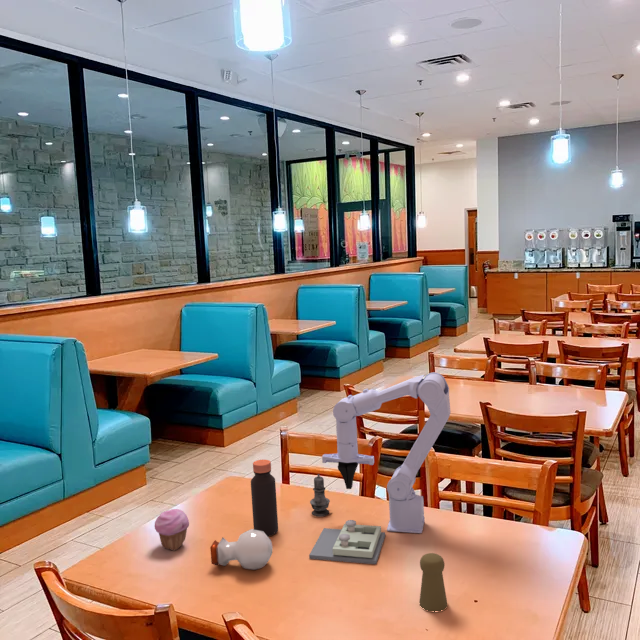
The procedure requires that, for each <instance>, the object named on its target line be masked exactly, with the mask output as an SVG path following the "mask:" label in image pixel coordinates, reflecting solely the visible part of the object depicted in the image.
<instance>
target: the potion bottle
mask: <svg viewBox="0 0 640 640" xmlns="http://www.w3.org/2000/svg"><path fill="white" fill-rule="evenodd" d="M209 549H210V560H211V561H210V562H211V565H214V566H216V567H217V566H218V565H221V566H223V567H226V566H227V565H228V564H229V562H231V561H237V562H238V564H239V565H240V566H241V567H242V568H243V569H245V570H251V571H252V570H253V571H257V570H259V569H262V568H264V567H265V566H266V565H268V562H269V561H270V559H271V557H272V554H273V543H272V539H271V538H270V536H267V535H266V534H265V533H264V531H260V530H255V529H254V528H250V529H248V530H247V531H244V532H243V533H241V534H240V535H239V536H238V539H237V541H228V540H227V539H225V537H222V538H221V540H220V541H217V539H214V540H213V542H212V544H211V545H210V548H209Z"/></svg>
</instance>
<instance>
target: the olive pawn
mask: <svg viewBox="0 0 640 640" xmlns="http://www.w3.org/2000/svg"><path fill="white" fill-rule="evenodd" d="M419 567H420V569H421V571H422V575H421V582H420V583H421V584H420V593H419V603H420V604H419V607H420V606H421V607H422V608H424V609H425V610H428V611H434V612H433V613H436V612H435V611H441V610H444V609H445V608H446V607H447V608H448V606H447V604H448V600H447V594H446V587H445V582H444V574H443V572H444V570H445V560H444V558H443V556H441V555H440V554H437V553H435V552H429V553H425V554H423V555H422V556H421V558H420V561H419ZM421 607H420V608H421ZM422 608H421V609H422ZM447 608H446V609H447ZM424 609H423V610H424ZM446 609H445V610H446ZM425 610H424V611H425ZM445 610H444V611H445ZM428 611H427V612H428Z"/></svg>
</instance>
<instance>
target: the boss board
mask: <svg viewBox="0 0 640 640" xmlns="http://www.w3.org/2000/svg"><path fill="white" fill-rule="evenodd" d="M345 524H346V526H348V531H350V532H355V528H354V526H356V525H357V521H356V520H354V519H348V520H345ZM341 530H342V528H327V527H324V528H323V529H322V530H321V532H320V534H319V537H318V538H317V540H316V542H315V544H314V545H313V547H312V549H311V551H310V553H309V555H308V557H309V558H308V559H310V560H319V561H320V560H321V561H330V560H331V561H333V562H342V561H343V562H344V563H345V562H346V563H356V564H357V563H358V564H367V565H368V564H369V565H377V562H378V559H379V557H380V553H381V550H382V547H383V545H384V541H385V538H386V532H384V531H383V532H382V531H381V534H380V537H379V540H378V543H377V546H376V549H375V551H374V554H373V557H372V558H366V557H354V556H342V555H333V547H334V545H335V542H336V540H337V538H338V536H339V540H341V546H348V540H349V539H350V535H349V534H341V535H339V534H340V532H341ZM364 534H372V535H374V534H375V533H364ZM356 549H368V550H369V548H367V547H358V548H356ZM343 562H342V563H343Z"/></svg>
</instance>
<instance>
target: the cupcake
mask: <svg viewBox="0 0 640 640" xmlns="http://www.w3.org/2000/svg"><path fill="white" fill-rule="evenodd" d="M189 526H190V521H189V518H188V516H187V514H186V512H184V510H181V509H178V508H174V509H170V510H165V511H162V512H161V513H160V514H159V515H158V516H157V517H156V519H155V521H154V529H155V530H154V531H156V532H157V533H158V536H159V541H160V543H161V546H162V548H163V549H167V550H170V551H177V550H178V549H180V548H181V546H182V545H183V543H184V541H185V540H186V537H187V530H188V528H189Z"/></svg>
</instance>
